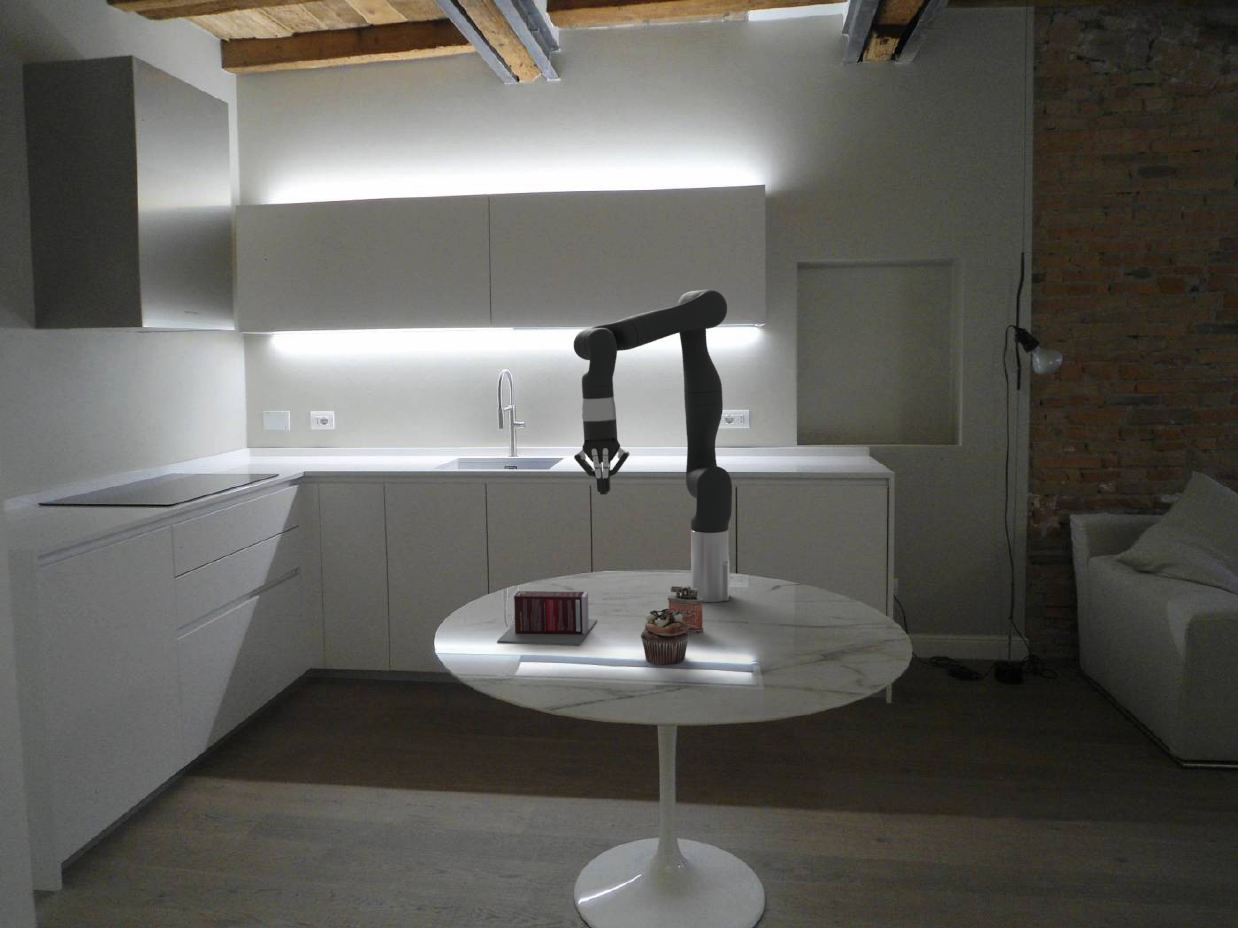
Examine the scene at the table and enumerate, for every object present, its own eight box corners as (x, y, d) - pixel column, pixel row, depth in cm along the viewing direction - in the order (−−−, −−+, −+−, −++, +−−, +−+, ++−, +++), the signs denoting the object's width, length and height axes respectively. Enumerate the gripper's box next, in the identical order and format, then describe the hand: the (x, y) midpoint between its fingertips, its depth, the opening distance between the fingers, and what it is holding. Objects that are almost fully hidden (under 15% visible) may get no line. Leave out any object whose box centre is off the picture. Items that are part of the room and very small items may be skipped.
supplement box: (588, 591, 206) (517, 589, 208) (585, 596, 202) (513, 595, 203) (589, 628, 208) (518, 627, 209) (586, 635, 203) (514, 634, 204)
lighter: (705, 630, 205) (705, 586, 204) (700, 634, 202) (699, 589, 201) (671, 626, 209) (670, 583, 208) (665, 630, 206) (665, 586, 205)
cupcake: (699, 658, 187) (698, 609, 186) (664, 670, 181) (663, 619, 179) (665, 647, 194) (665, 600, 193) (631, 658, 188) (630, 610, 187)
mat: (596, 621, 214) (596, 619, 214) (579, 645, 197) (579, 643, 197) (521, 618, 218) (521, 616, 217) (497, 642, 200) (497, 640, 200)
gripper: (631, 415, 213) (635, 490, 215) (574, 417, 215) (578, 492, 217) (626, 418, 205) (630, 496, 208) (567, 420, 207) (572, 497, 210)
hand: (604, 493), depth 212 cm, fingers closed
